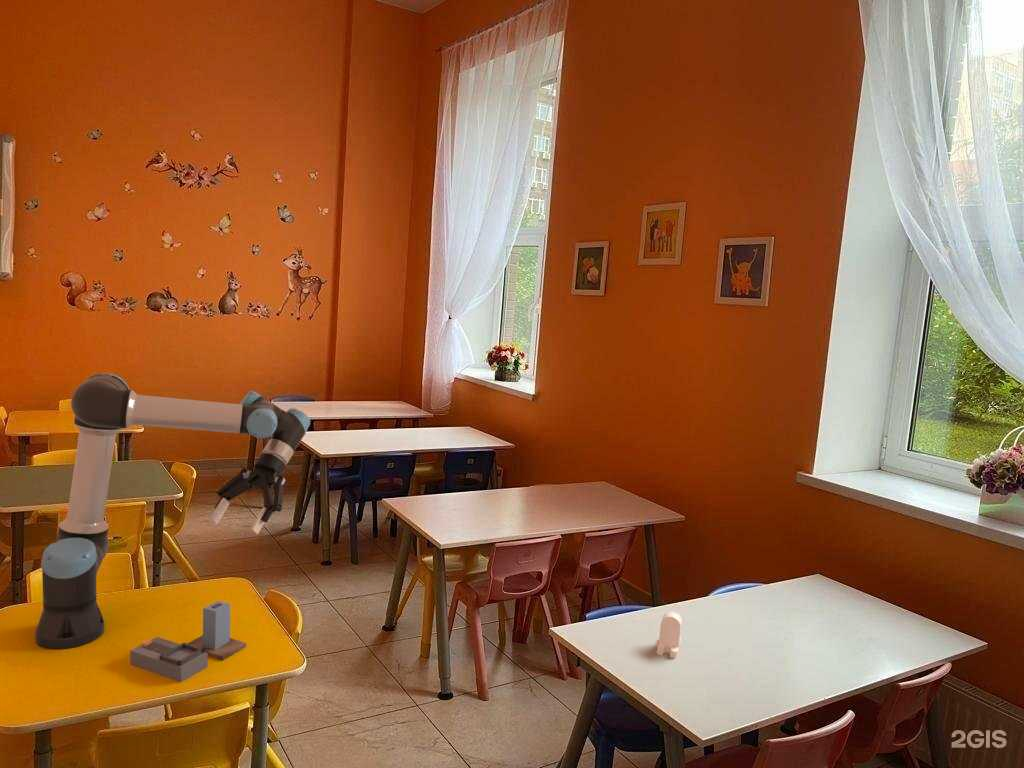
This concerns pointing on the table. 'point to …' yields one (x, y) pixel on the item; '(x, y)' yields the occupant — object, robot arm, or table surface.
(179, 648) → the grey rectangular box
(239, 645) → the walnut board
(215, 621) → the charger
